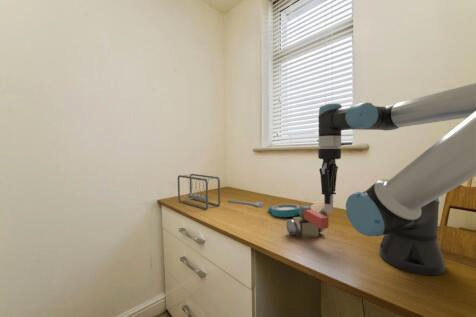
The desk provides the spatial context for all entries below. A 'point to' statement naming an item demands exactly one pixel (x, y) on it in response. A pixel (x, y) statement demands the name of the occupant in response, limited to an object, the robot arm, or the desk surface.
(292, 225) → the valve body
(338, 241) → the desk surface
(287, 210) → the butterfly valve
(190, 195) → the newton's cradle
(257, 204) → the adjustable wrench
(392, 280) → the desk surface
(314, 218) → the lever
